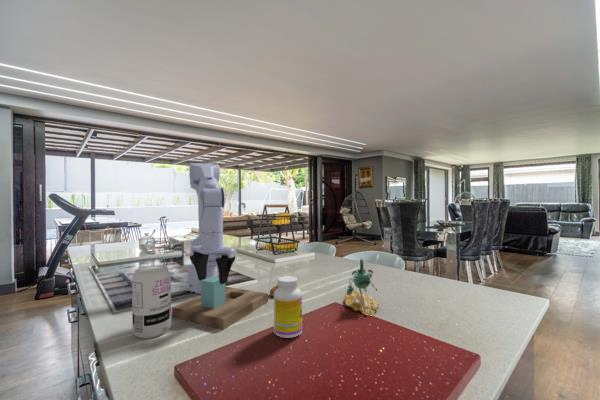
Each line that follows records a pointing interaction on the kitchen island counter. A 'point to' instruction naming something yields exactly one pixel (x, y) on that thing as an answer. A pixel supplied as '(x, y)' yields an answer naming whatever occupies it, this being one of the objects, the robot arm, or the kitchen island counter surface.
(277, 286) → the pastry
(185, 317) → the walnut pocket plate
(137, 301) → the supplement can
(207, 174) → the robot arm
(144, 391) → the kitchen island counter surface
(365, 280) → the frog figurine
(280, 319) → the supplement bottle
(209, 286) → the teal block
